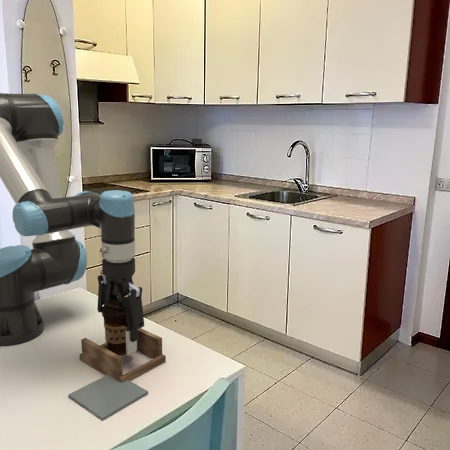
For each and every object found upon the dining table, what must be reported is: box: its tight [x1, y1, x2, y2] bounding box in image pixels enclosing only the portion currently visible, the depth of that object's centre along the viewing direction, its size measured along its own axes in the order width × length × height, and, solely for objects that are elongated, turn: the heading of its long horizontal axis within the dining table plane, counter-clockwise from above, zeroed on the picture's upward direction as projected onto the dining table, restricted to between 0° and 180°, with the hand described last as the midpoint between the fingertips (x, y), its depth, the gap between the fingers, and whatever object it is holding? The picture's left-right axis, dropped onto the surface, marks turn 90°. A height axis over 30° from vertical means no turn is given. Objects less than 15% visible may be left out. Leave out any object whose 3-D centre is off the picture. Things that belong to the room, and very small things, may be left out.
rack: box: [78, 328, 167, 383], centre depth 114 cm, size 16×13×6 cm
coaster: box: [67, 375, 149, 422], centre depth 101 cm, size 12×12×1 cm
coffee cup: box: [103, 296, 133, 357], centre depth 113 cm, size 9×8×13 cm
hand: (120, 346), depth 115 cm, fingers closed on coffee cup, 7 cm apart
